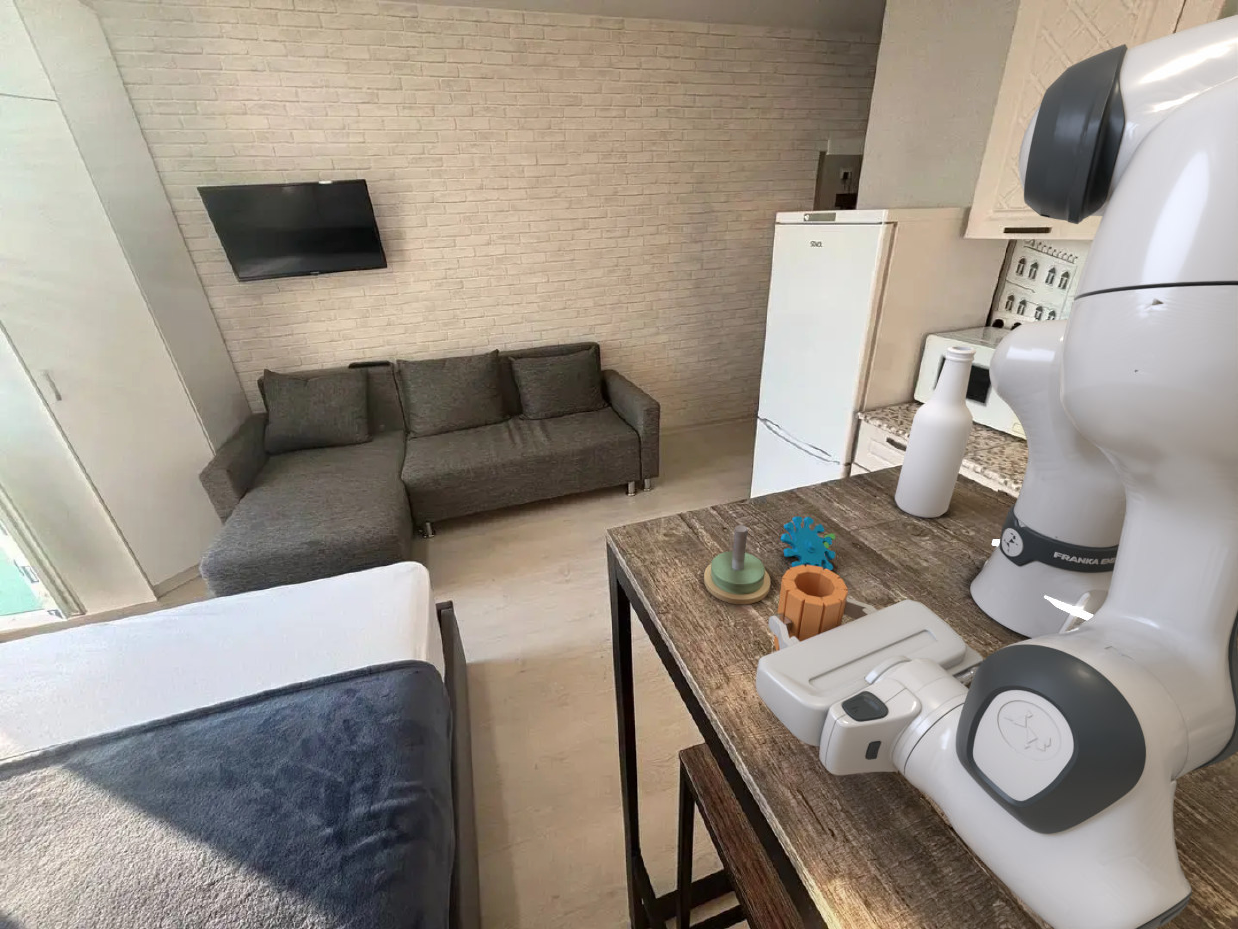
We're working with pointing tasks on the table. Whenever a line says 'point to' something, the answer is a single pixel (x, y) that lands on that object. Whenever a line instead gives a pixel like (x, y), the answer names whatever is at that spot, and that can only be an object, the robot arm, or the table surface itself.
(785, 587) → the orange grooved hollow cylinder
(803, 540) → the gear
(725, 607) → the table surface
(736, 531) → the ring stack
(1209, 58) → the robot arm
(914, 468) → the alcohol
